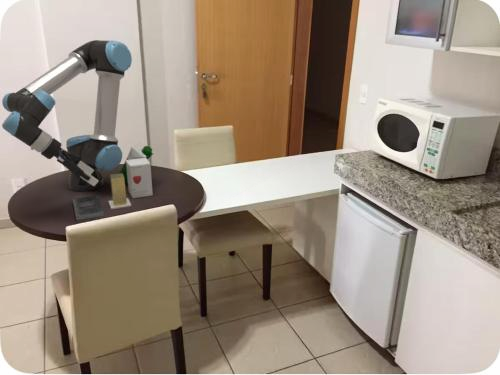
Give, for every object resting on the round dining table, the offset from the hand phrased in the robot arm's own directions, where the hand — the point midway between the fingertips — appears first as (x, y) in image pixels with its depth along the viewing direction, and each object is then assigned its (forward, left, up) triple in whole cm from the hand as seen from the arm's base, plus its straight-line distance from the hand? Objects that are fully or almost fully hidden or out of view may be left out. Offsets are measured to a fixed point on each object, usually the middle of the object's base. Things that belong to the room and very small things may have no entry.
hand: (94, 178), depth 168 cm
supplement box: (+2, +21, -13) cm, 24 cm away
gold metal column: (+4, +7, -12) cm, 15 cm away
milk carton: (-13, +26, -11) cm, 32 cm away
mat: (+4, +8, -13) cm, 15 cm away
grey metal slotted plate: (-2, -3, -13) cm, 14 cm away
